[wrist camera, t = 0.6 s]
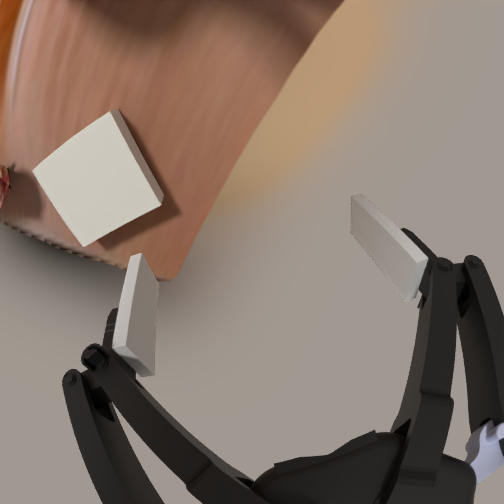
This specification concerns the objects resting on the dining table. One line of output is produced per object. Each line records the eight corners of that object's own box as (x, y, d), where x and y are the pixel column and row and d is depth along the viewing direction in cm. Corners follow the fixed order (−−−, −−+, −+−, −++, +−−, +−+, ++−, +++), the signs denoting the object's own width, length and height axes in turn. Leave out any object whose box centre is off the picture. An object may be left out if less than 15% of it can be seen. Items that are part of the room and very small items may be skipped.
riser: (43, 162, 32) (32, 170, 29) (117, 108, 31) (109, 111, 28) (90, 234, 42) (83, 247, 39) (163, 194, 41) (161, 205, 38)
